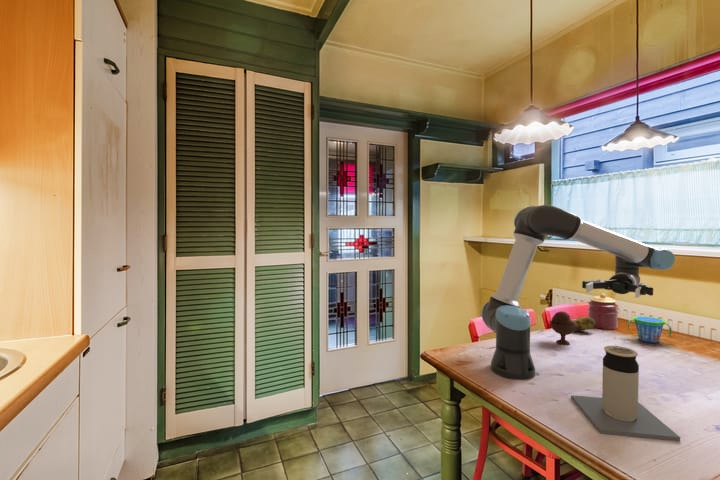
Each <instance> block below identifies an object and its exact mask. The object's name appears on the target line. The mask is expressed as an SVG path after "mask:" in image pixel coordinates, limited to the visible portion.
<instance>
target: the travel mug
mask: <svg viewBox="0 0 720 480" xmlns="http://www.w3.org/2000/svg"><path fill="white" fill-rule="evenodd" d="M603 349H604V351H605V355H604V356H603V357H602V383H601V384H602V389H601V391H602V392H601V393H602V395H601V398H602V408H603V410H604V411H605V412H607V413H608V414H610V415H612V416H614V417H617V418H620V419H627V420H632V419H636V418H637V417H638V402H639V372H640V371H639V369H640V365H639V363H638V361H637V356H638V355H639V354H638V352H637V351H635V350H634V349H632V348H628V347H624V346H619V345H605V346H604V348H603Z"/></svg>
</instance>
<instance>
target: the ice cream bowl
mask: <svg viewBox="0 0 720 480" xmlns="http://www.w3.org/2000/svg"><path fill="white" fill-rule="evenodd" d="M549 325H550V328H551V329H552V330H553V331H554V332H555V333H556V334H559V335H560V339H557V340H556V341H555V342H556V344H557V345H561V346H570V341H568V340H566V336H569V335H571V334H573V333H575V332H576V331H575V330H576V329H577V324H576V323H574V322H573V321H572V319H571V316H570V314H569V313H568V312H566V311H563V310H562V311H558V312H556V313H555V314H554V315H553V316H552V318H551V320H549Z"/></svg>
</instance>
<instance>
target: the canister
mask: <svg viewBox="0 0 720 480" xmlns="http://www.w3.org/2000/svg"><path fill="white" fill-rule="evenodd" d="M589 300H590V301H589V302H588V303H587V304H588V306H589V307H588V309H587V311H588V312H587V313H588V316H587V317H590V318H592V319H593V320H594V321H595V325H594V327H593V328H597V329H602V330H616V329H618V326H619V325H618V324H619V323H618V317H619V316H618V313H619V311H618V307H619V305H618V304H617V303H616V302H617V301H616V300H615V299H614V298H612V297H609V296H607V295H606V293H603V292H602V293H600V295H599V296H598V295H597V296H595V295H594V296H593V297H591V298H589Z"/></svg>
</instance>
